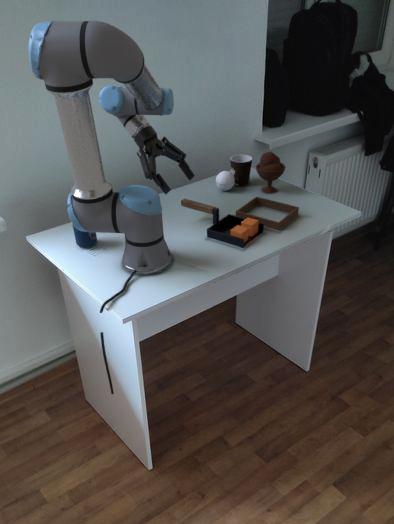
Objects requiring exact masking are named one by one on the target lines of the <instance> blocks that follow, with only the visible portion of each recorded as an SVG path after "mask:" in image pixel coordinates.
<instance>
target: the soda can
mask: <svg viewBox="0 0 394 524" xmlns="http://www.w3.org/2000/svg"><path fill="white" fill-rule="evenodd" d="M71 225H72V230H73V234H74V239H75V243H76V245H77V246H78V247H79V248H81V249H87V250H88V249H91V248H93V247H95V246H96V244H97V242H98V236H97V232H94V233H90V232H84V231H80V230H78V229H76V228H75V227H74V226H73V224H72V223H71Z"/></svg>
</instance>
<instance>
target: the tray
mask: <svg viewBox="0 0 394 524" xmlns="http://www.w3.org/2000/svg"><path fill="white" fill-rule="evenodd" d="M255 206H259V207H264V208H268V209H272V210H276V211H279V212H282V213H283V212H284V213H287V215H285V216H284V217H283V218H282V219H281V220H279V221H276V220H272V219H269V218H265V217H261V216H257V215H255V214H250V213H247V212H248V211H250V210H251V209H253V208H254V207H255ZM299 211H300V207H299V206H296V205H292V204H287V203H284V202H280V201H276V200H272V199H268V198H264V197H260V196H255V197H253V198H252V199H251V200H249V201H248V202H246V203H245V204H244V205H243V206H240V207H239V208H238V209H237V210H235V216H238V217H242V218H245V219H246V218H252V219H255V220H259V222H260V223H263V224H264V228H268V229H271V230H275V231H278V232H280V230H282V229H283V228H285V226H286V225H288V224H289V223H290V222H291V221H292V220H294V219H296V217H297V216H299Z"/></svg>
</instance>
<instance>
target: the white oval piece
mask: <svg viewBox="0 0 394 524" xmlns="http://www.w3.org/2000/svg"><path fill="white" fill-rule="evenodd" d="M234 182H235V180H234V176H233V174H232V172H230V171H228V170H223V171H220V172H219V173H218V174H217V175H216V178H215V184H216V187H217V188H218V189H219V190H220V191H224V192H227V191H229V190H231V189H232V188H233V187H234Z"/></svg>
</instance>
